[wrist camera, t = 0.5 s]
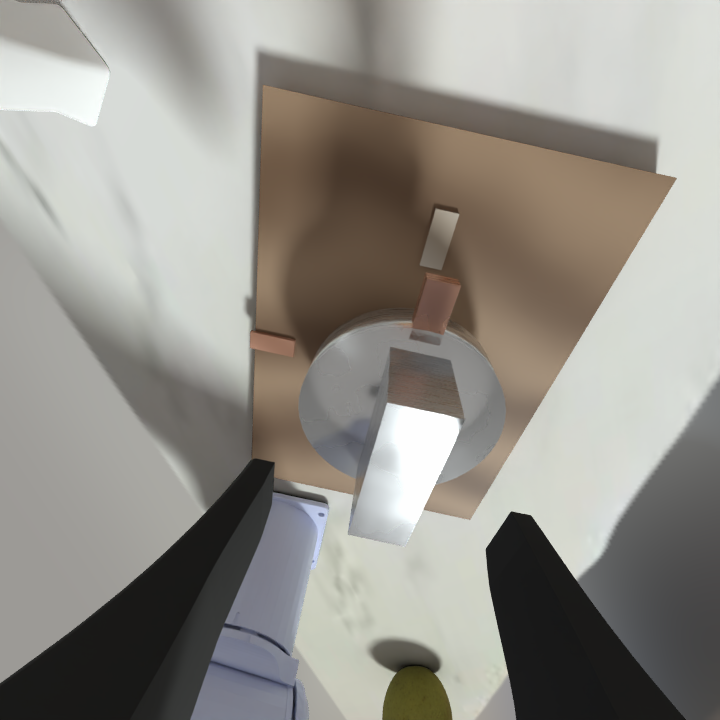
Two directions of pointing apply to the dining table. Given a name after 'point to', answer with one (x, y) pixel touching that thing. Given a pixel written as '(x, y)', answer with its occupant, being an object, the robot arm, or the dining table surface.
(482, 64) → the dining table surface
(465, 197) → the post board
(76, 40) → the perfume bottle
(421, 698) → the apple
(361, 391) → the cap
